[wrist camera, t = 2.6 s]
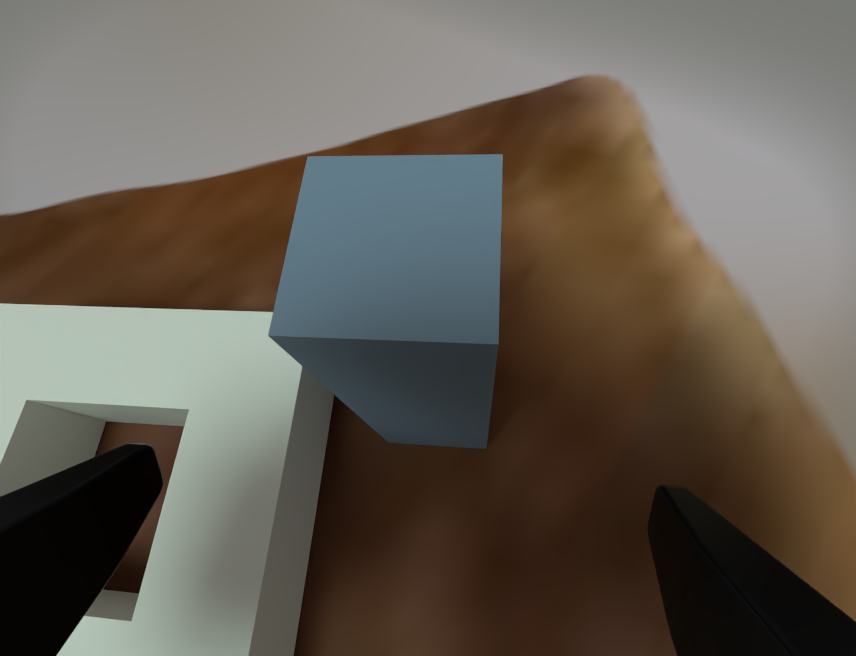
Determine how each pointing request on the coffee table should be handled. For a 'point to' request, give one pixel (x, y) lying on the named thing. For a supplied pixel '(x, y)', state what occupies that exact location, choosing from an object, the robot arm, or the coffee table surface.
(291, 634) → the socket block
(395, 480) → the coffee table surface
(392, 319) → the peg
